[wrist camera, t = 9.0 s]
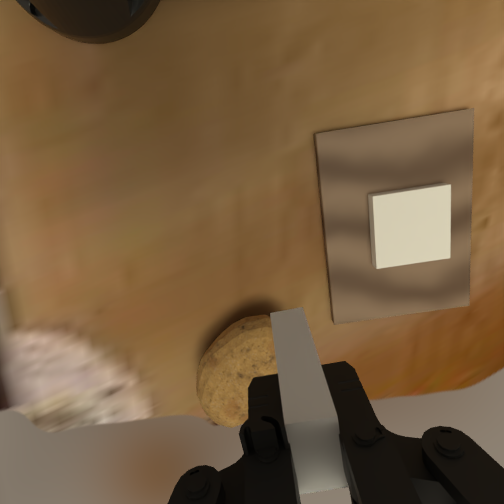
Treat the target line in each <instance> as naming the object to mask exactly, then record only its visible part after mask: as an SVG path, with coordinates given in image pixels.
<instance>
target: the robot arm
mask: <svg viewBox="0 0 504 504" xmlns="http://www.w3.org/2000/svg"><path fill="white" fill-rule="evenodd" d="M16 1H17V2H18V3H19V4H20V5H21V6H22V7H23V8H24V9H25V10H26V11H27V12H28V13H29V14H30V15H31V16H32V17H34V18H35V19H36V20H38V21H39V22H40V23H42V24H43V25H45V26H47V27H48V28H50V29H52V30H53V31H55V32H57V33H59V34H61V35H63V36H65V37H67V38H70V39H72V40H76V41H80V42H84V43H108V42H112V41H116V40H119V39H122V38H124V37H126V36H128V35H130V34H131V33H133V32H134V31H136V30H137V29H138V28H140V27H141V26H142V25H143V24H144V23H145V22H146V21H147V20H148V18H149V17H150V16H151V15H152V13H153V12H154V10H155V9H156V7H157V5H158V3H159V1H160V0H16ZM270 317H271V325H272V332H273V340H274V348H275V355H276V363H277V371H278V373H277V374H271V375H265V376H259V377H254V378H253V379H252V381H251V383H250V385H249V387H248V419H247V420H246V421H245V422H244V424H243V425H242V426H241V428H240V433H239V436H240V440H241V444H242V448H243V451H244V454H243V456H242V457H241V458H240V459H239V460H238V461H237V462H236V463H234V464H233V465H231V466H229V467H227V468H225V469H223V470H221V471H219V472H218V471H217V470H216V469H215V468H214V467H211V466H207V465H203V466H197V467H194V468H192V469H190V470H188V471H187V472H186V473H185V474H184V475H182V476H181V477H180V479H179V481H178V482H177V484H176V486H175V488H174V490H173V493H172V495H171V497H170V499H169V502H168V504H301V502H300V496H299V495H300V494H306V493H312V492H319V491H325V490H332V489H338V488H345V487H348V486H349V490H350V495H351V501H352V504H504V468H503V467H502V466H500V465H499V464H498V463H497V462H496V461H495V460H494V459H493V458H492V457H491V456H489V454H487V453H486V452H485V451H484V450H483V449H482V448H481V447H480V446H479V445H477V444H476V443H475V442H474V441H473V440H472V439H471V438H470V437H469V436H467V435H465V434H464V433H463V432H461V431H459V430H457V429H454V428H451V427H443V426H438V427H433V428H430V429H428V430H427V431H425V432H424V434H423V436H422V438H412V437H405V436H400V435H397V434H394V433H392V432H390V431H388V430H387V429H386V428H385V427H384V426H383V425H381V424H380V422H379V421H378V419H377V417H376V415H375V413H374V411H373V408H372V406H371V404H370V402H369V400H368V397H367V395H366V393H365V391H364V389H363V386H362V384H361V382H360V381H359V378H358V375H357V373H356V371H355V369H354V368H353V367H352V366H351V365H349V364H348V363H347V362H346V361H342V362H336V363H330V364H324V365H321V363H320V360H319V357H318V354H317V351H316V347H315V344H314V341H313V338H312V335H311V332H310V329H309V326H308V322H307V319H306V316H305V313H304V310H303V307H301V308H296V309H290V310H284V311H279V312H273V313H270ZM347 483H348V485H347Z"/></svg>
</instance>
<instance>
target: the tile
mask: <svg viewBox="0 0 504 504" xmlns="http://www.w3.org/2000/svg"><path fill="white" fill-rule="evenodd" d="M368 203H369V220H370V237H371V254H372V265H373V266H374V267H375V268H376V269H380V268H387V267H393V266H400V265H407V264H414V263H421V262H427V261H434V260H441V259H448V258H450V244H451V184H446V183H439V184H433V185H426V186H420V187H413V188H407V189H400V190H394V191H387V192H381V193H374V194H368Z"/></svg>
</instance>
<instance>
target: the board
mask: <svg viewBox="0 0 504 504" xmlns="http://www.w3.org/2000/svg"><path fill="white" fill-rule="evenodd" d="M473 135H474V108H472V109H465V110H459V111H453V112H447V113H440V114H434V115H428V116H422V117H416V118H409V119H403V120H397V121H391V122H384V123H378V124H372V125H366V126H359V127H353V128H347V129H341V130H335V131H328V132H322V133H316V134H314V140H315V151H316V161H317V171H318V181H319V191H320V201H321V212H322V222H323V232H324V242H325V252H326V262H327V273H328V283H329V293H330V303H331V313H332V321H333V323H334V325H336V324H343V323H350V322H357V321H364V320H371V319H378V318H385V317H392V316H399V315H406V314H413V313H420V312H427V311H434V310H441V309H448V308H455V307H462V306H469V295H470V255H471V215H472V175H473ZM439 183H446V184H451V244H450V258H448V259H441V260H434V261H427V262H421V263H414V264H407V265H400V266H393V267H387V268H380V269H376V268H375V267H374V266H373V265H372V254H371V237H370V220H369V203H368V194H374V193H381V192H387V191H394V190H400V189H407V188H413V187H420V186H426V185H433V184H439Z"/></svg>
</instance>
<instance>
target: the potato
mask: <svg viewBox="0 0 504 504" xmlns="http://www.w3.org/2000/svg"><path fill="white" fill-rule="evenodd" d="M277 373H278V371H277V363H276V355H275V348H274V340H273V332H272V325H271V317H270V316H267V315H257V316H250V317H245V318H243V319H241V320H239V321H237V322H235V323H233V324H231V325H230V326H229V327H228V328H227V329H226V330H224V331H223V332H222V333H221V334H220V335H219V336H218V337H217V338H216V340H215V341H214V342H213V343H212V344H211V345H210V347H209V348H208V349H207V350H206V352H205V353H204V355H203V357H202V359H201V361H200V364H199V368H198V372H197V385H196V388H197V396H198V398H199V401H200V403H201V405H202V407H203V409H204V411H205V413H206V414H207V415H208V416H209V417H210V418H211V419H212V420H213V421H214V422H215V423H216V424H219V425H222V426H227V427H231V428H232V427H235V426H238V425H240V424H243V423H244V422H245V421H246V420H247V419H248V387H249V385H250V383H251V381H252V379H253V378H254V377H259V376H265V375H271V374H277Z"/></svg>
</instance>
